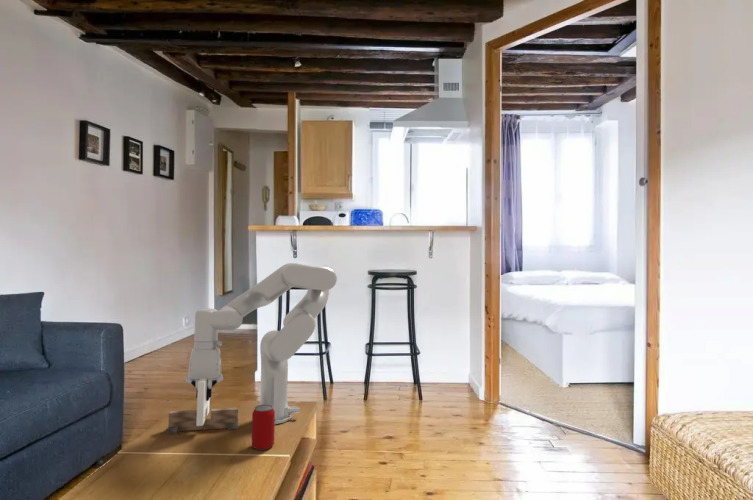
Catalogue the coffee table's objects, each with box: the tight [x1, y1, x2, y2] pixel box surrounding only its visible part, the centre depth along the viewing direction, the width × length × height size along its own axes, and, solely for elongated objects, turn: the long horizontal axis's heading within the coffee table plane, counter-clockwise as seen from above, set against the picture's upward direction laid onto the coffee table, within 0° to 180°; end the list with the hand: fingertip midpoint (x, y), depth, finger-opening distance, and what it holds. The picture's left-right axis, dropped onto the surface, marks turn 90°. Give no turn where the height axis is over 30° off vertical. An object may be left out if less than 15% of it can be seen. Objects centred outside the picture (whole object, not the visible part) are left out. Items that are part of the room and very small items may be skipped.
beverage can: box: [251, 404, 276, 451], centre depth 136 cm, size 7×7×12 cm
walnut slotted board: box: [166, 407, 239, 435], centre depth 150 cm, size 22×6×6 cm, turn 103°
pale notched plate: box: [196, 378, 211, 426], centre depth 150 cm, size 2×14×14 cm, turn 12°
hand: (203, 399), depth 150 cm, fingers closed on pale notched plate, 2 cm apart
